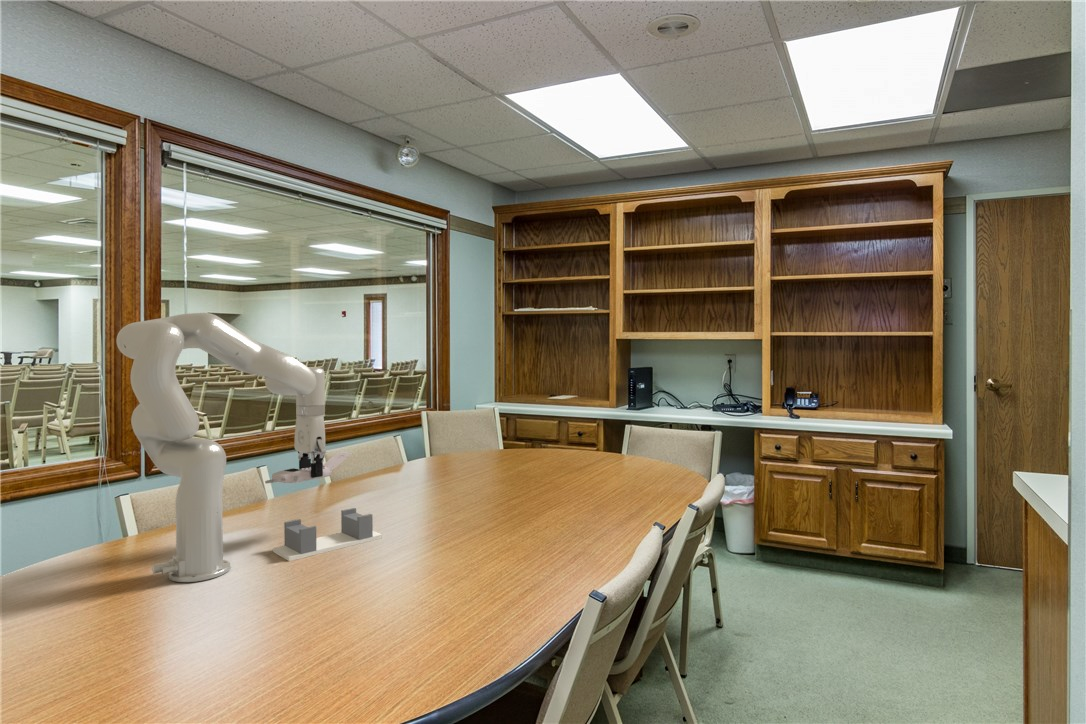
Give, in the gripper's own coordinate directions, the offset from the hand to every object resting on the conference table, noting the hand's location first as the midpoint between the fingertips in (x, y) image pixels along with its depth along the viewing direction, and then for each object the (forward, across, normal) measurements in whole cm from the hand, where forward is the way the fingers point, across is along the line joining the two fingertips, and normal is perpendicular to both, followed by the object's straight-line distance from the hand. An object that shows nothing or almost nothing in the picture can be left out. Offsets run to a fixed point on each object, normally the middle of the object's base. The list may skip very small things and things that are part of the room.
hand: (310, 474), depth 170 cm
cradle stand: (+17, +11, 0) cm, 20 cm away
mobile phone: (+1, 0, 0) cm, 1 cm away
